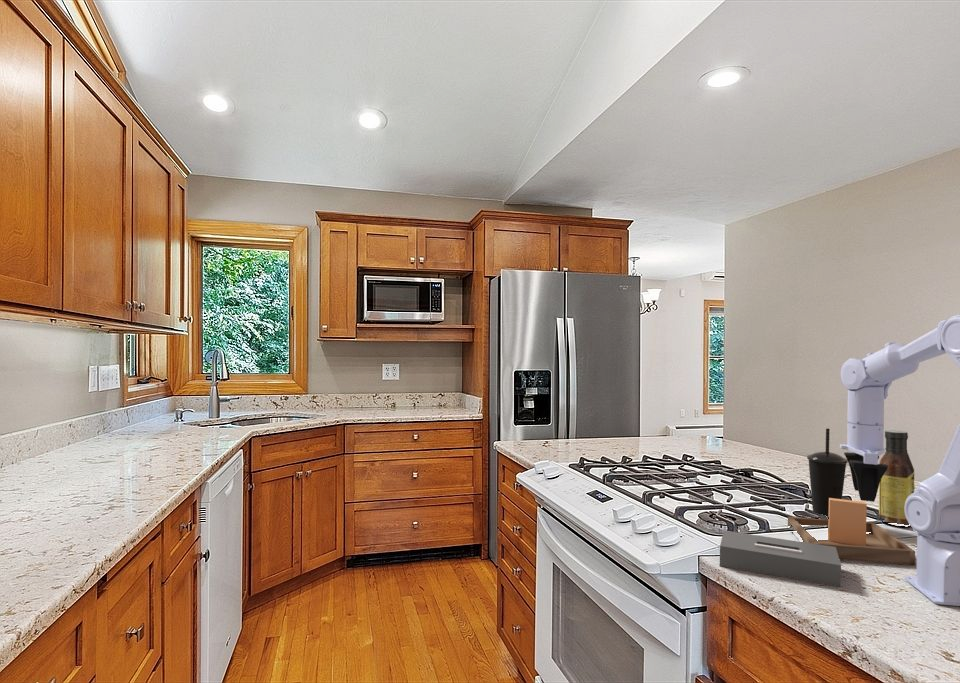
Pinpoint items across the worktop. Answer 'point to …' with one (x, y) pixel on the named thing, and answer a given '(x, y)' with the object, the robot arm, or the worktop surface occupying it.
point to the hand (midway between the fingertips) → (864, 495)
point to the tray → (876, 550)
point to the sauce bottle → (895, 478)
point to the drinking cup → (826, 478)
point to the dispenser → (781, 558)
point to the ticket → (847, 521)
